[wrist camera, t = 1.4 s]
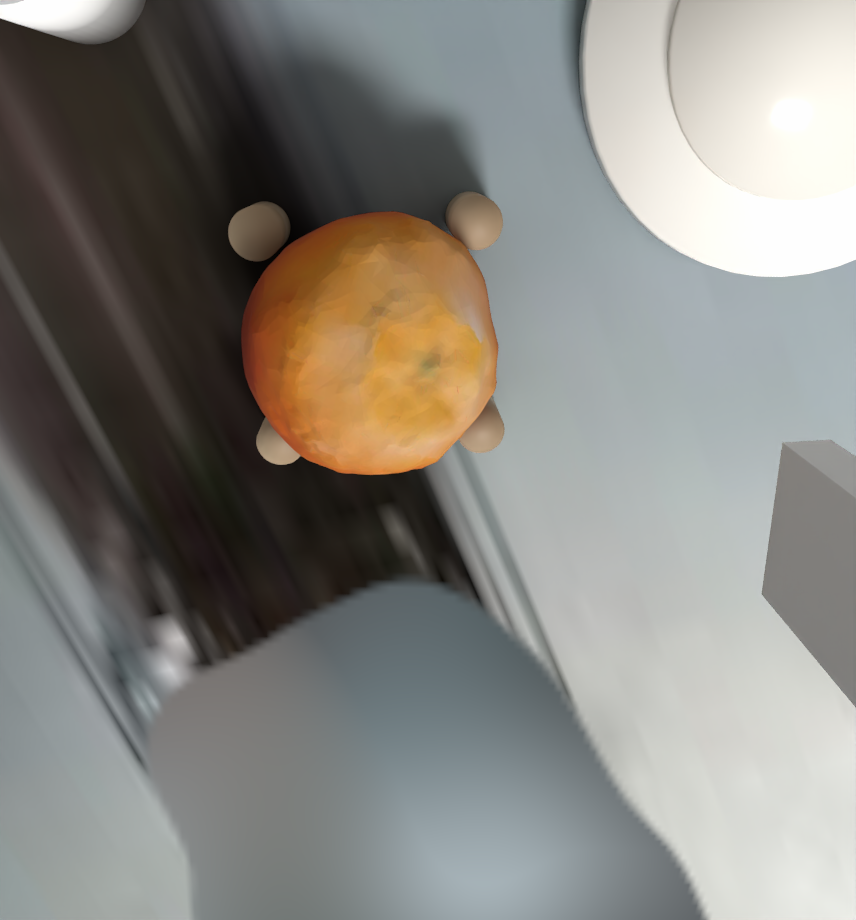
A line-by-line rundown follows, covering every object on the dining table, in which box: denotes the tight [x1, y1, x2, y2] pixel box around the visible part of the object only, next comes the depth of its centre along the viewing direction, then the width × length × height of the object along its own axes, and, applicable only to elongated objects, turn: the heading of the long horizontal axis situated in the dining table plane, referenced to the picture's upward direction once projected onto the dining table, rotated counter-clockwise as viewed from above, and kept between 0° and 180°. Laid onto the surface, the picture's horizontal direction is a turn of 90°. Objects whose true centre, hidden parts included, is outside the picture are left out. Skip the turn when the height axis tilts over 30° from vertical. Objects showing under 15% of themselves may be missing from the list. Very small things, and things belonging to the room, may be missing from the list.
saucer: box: [579, 0, 856, 277], centre depth 24 cm, size 14×14×1 cm
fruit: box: [241, 211, 498, 475], centre depth 25 cm, size 8×8×8 cm
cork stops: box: [228, 191, 504, 465], centre depth 26 cm, size 8×8×2 cm
